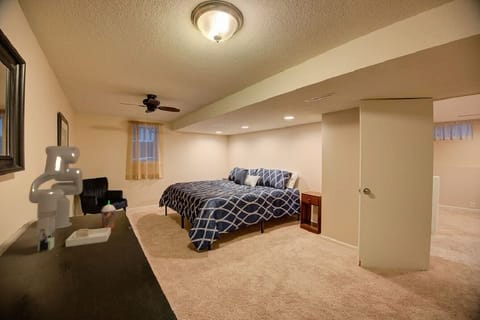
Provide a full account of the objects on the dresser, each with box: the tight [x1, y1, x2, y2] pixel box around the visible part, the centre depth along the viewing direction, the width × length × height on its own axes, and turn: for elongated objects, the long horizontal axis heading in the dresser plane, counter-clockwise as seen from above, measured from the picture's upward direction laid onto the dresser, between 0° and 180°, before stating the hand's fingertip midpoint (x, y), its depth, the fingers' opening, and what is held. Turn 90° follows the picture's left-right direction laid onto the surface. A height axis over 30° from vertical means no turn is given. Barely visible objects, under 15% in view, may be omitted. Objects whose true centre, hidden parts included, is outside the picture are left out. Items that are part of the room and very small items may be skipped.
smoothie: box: [101, 200, 117, 231], centre depth 139 cm, size 8×8×20 cm
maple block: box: [76, 228, 90, 239], centre depth 120 cm, size 5×5×5 cm
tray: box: [65, 227, 112, 248], centre depth 121 cm, size 16×19×4 cm
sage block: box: [37, 236, 55, 252], centre depth 107 cm, size 5×5×5 cm
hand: (46, 247), depth 107 cm, fingers closed on sage block, 5 cm apart
